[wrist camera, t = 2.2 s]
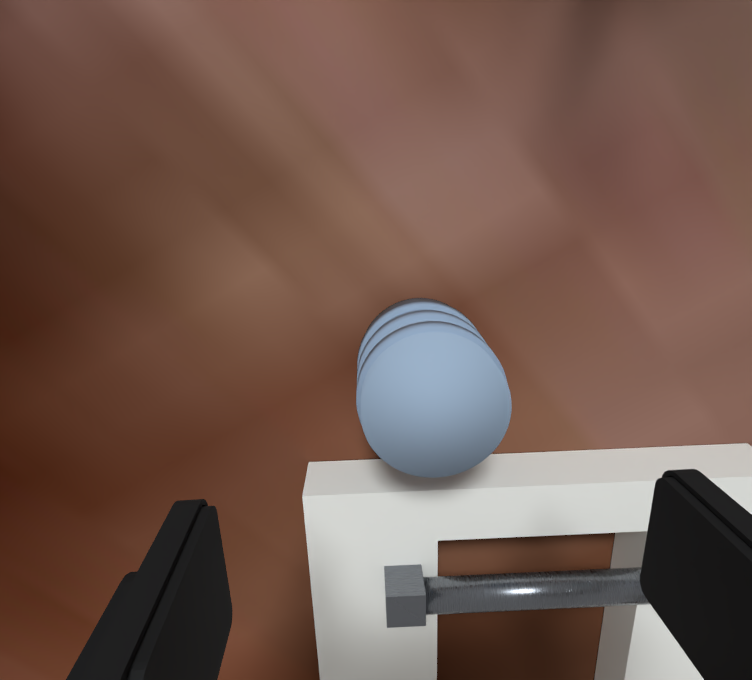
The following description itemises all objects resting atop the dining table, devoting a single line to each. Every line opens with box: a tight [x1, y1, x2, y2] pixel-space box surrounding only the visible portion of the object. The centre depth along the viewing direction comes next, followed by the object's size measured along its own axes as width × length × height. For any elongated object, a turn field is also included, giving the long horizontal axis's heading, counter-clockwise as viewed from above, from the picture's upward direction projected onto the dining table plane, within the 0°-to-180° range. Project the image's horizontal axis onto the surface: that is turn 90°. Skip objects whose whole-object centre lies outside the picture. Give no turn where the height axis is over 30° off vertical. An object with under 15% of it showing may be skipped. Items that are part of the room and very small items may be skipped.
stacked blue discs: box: [356, 298, 511, 478], centre depth 18 cm, size 5×5×6 cm
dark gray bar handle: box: [384, 564, 650, 628], centre depth 21 cm, size 14×2×2 cm, turn 92°
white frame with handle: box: [302, 443, 752, 680], centre depth 25 cm, size 20×22×2 cm
